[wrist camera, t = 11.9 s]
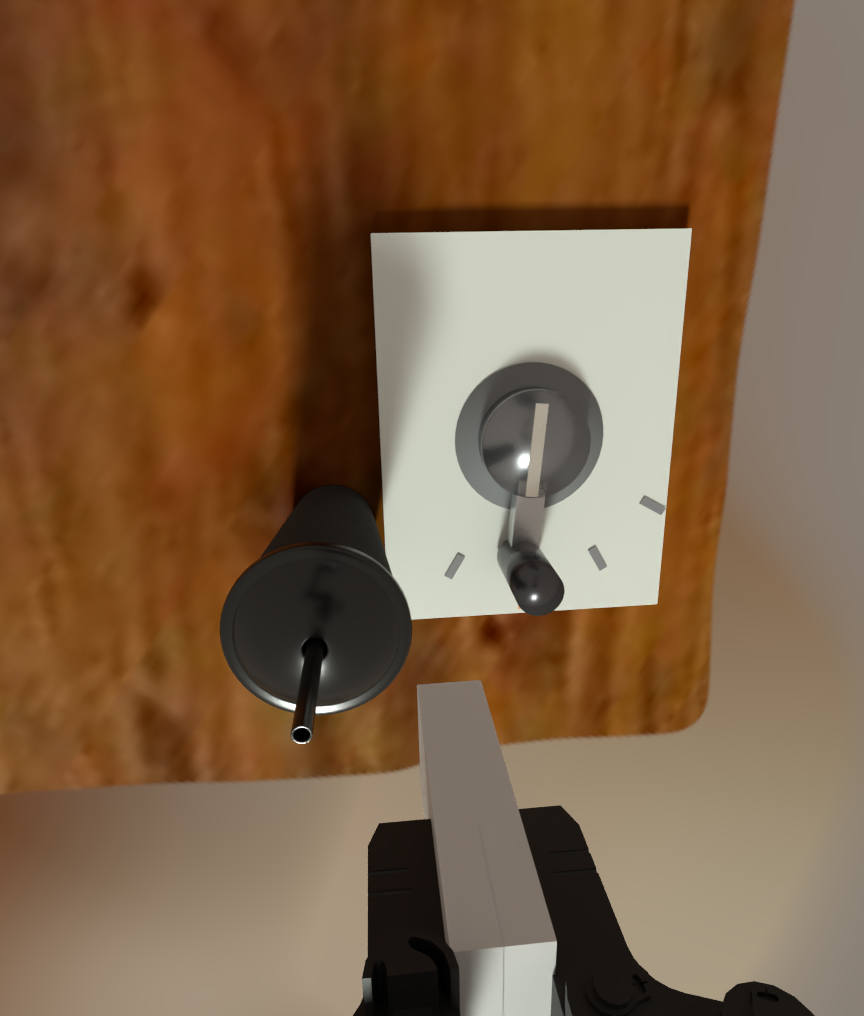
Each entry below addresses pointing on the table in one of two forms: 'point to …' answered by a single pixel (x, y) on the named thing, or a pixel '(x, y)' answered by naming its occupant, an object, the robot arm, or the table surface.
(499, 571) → the board
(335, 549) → the drinking cup
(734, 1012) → the robot arm
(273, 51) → the table surface
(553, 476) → the crank
